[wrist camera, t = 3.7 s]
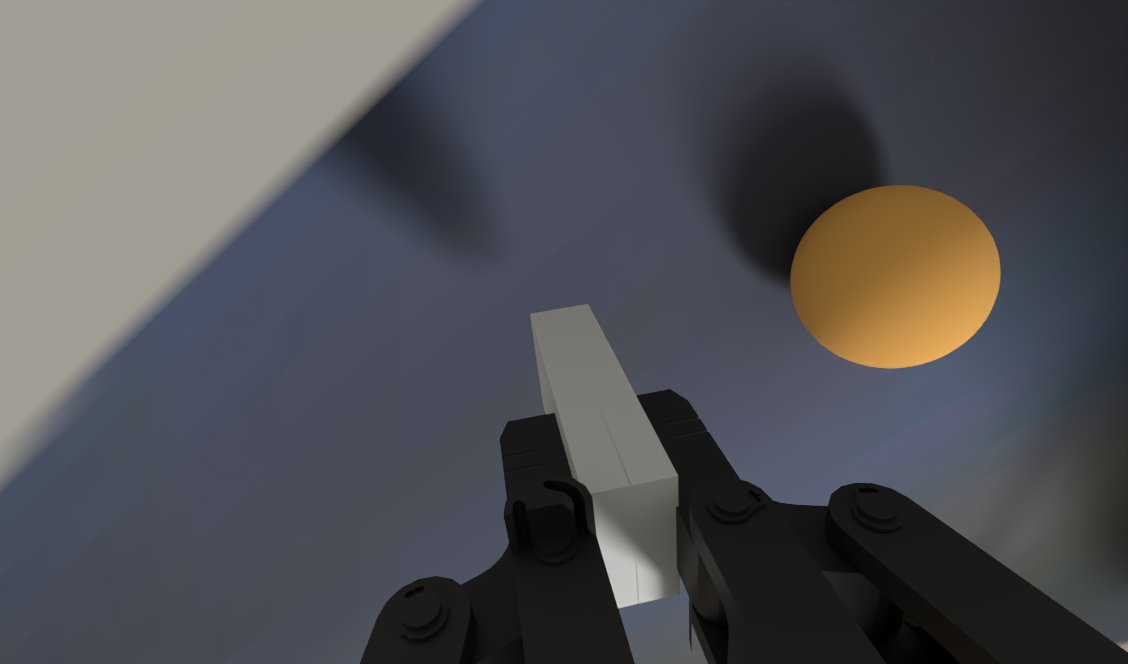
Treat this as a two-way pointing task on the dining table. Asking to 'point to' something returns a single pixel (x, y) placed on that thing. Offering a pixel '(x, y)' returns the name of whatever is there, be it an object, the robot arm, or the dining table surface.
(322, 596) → the dining table surface
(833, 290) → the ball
